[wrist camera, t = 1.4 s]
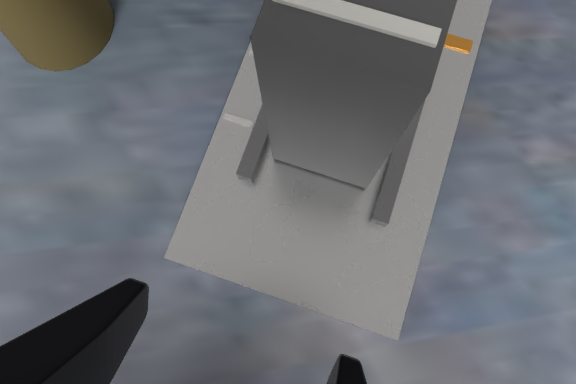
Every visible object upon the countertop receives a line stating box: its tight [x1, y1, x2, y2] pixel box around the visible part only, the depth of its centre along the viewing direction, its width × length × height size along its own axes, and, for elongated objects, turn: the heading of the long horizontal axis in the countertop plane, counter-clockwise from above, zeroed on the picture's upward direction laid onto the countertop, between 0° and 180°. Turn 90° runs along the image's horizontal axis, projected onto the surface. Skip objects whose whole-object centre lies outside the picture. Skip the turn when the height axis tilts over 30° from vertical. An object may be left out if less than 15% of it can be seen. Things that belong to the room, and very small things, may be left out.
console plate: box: [164, 0, 492, 341], centre depth 23 cm, size 20×12×2 cm, turn 162°
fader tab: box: [250, 0, 457, 189], centre depth 17 cm, size 3×5×11 cm, turn 72°
